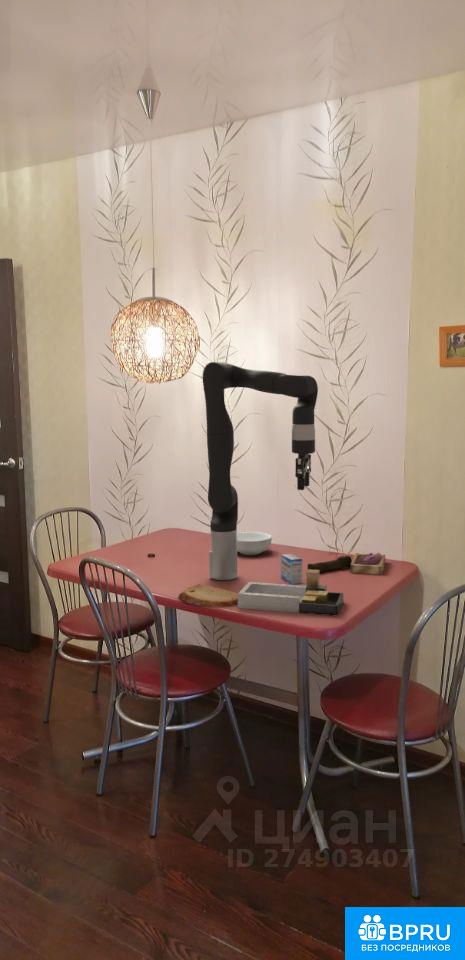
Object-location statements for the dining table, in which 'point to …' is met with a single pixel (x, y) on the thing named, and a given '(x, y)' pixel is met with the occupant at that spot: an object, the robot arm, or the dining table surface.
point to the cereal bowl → (253, 542)
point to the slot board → (285, 599)
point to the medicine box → (291, 568)
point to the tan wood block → (309, 599)
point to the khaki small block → (311, 593)
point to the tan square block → (322, 597)
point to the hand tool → (332, 564)
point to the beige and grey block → (314, 581)
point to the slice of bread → (209, 596)
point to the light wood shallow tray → (366, 568)
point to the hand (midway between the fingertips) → (303, 487)
